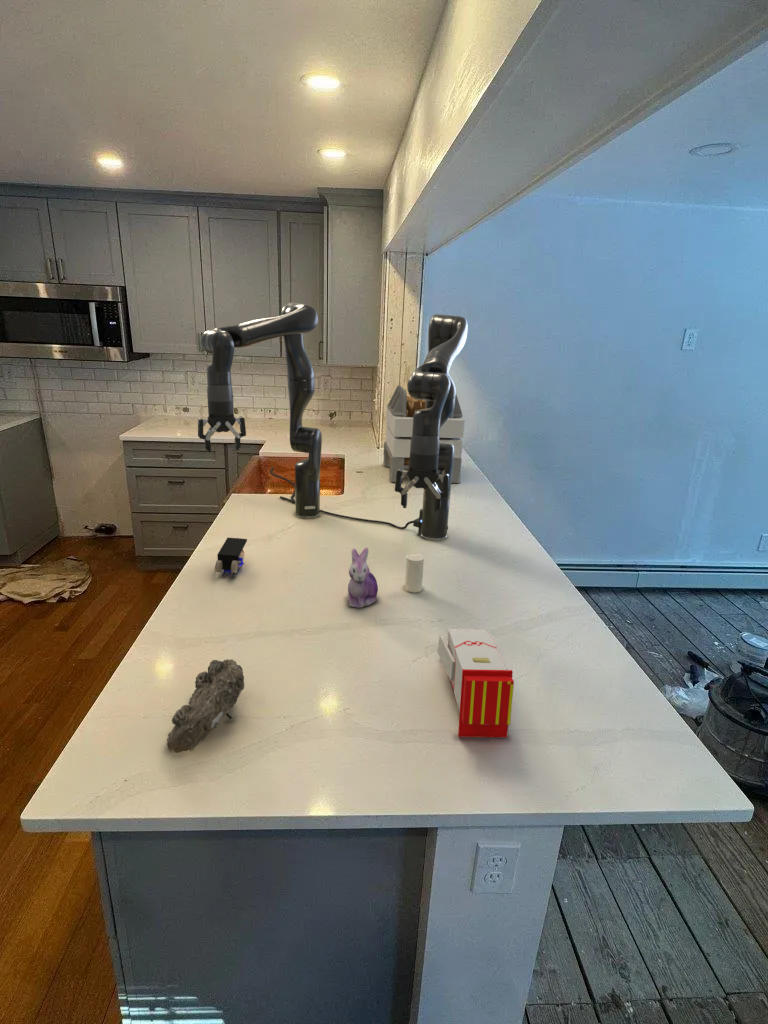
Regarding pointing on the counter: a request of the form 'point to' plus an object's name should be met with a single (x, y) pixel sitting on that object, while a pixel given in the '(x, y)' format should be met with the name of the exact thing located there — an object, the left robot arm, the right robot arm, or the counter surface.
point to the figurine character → (230, 556)
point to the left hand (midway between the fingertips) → (223, 450)
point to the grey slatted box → (401, 433)
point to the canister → (414, 572)
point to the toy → (478, 682)
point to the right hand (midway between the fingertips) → (420, 509)
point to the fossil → (206, 705)
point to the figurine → (361, 581)
